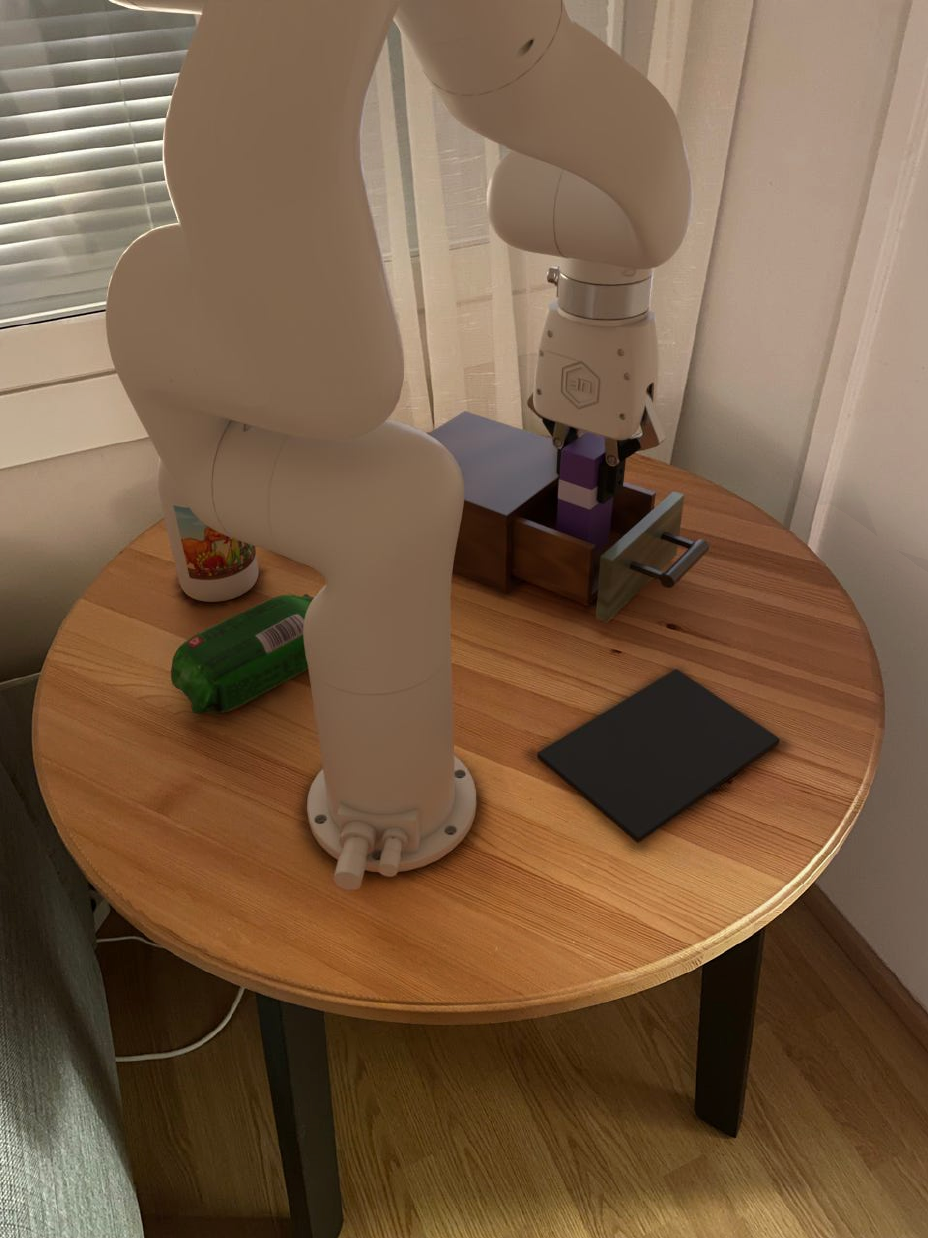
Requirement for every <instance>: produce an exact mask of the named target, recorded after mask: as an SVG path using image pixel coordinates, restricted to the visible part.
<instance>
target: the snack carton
mask: <svg viewBox="0 0 928 1238" xmlns="http://www.w3.org/2000/svg"><path fill="white" fill-rule="evenodd" d="M603 461H605V438H604V437H601V436H598V435H595V434H591V433H588V432H587V433H585V434H584V435H582V436H581V437H579V438H578V439H576V440H575V441H573V442H572V443H570V444H569V445H567V446H566V447H564V448H563V449H562V451H561V465H560V479H559V489H558V508H557V523H556V531H559V532H561V533H564V534H567V535H569V536H572V537H575V538H577V539H580V540H583V541H585V542H588V543H591V544H593V545H595V552H596V551H597V550H599V549H600V548H601V547H602V546H604V545H605V544H606V543H607V542H608V541H609V533H610V524H611V514H612V505H613V497H612V498H611V499H609V500H608V501H607V502H606V503H605V504H601V503H599V502H598V501H597V489H598V474H599V466H600V464H601V463H602V462H603Z"/></svg>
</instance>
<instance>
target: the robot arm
mask: <svg viewBox="0 0 928 1238" xmlns="http://www.w3.org/2000/svg"><path fill="white" fill-rule="evenodd" d="M108 1H109V2H111V3H113V4H116V5H118V6H122V7H125V8H128V9H130V10H131V9H132V10H138V11H146V12H147V11H148V12H157V13H162V12H163V13H173V14H187V15H188V14H189V15H200V17H199V20H198V23H197V26H196V28H195V30H194V33H193V36H192V39H191V42H190V44H189V46H188V49H187V52H186V55H185V57H184V59H183V63H182V65H181V68H180V71H179V73H178V76H177V79H176V82H175V84H174V88H173V90H172V94H171V98H170V101H169V103H168V109H167V112H166V115H165V122H164V128H163V136H162V166H163V174H164V179H165V184H166V189H167V191H168V196H169V199H170V201H171V205H172V209H173V211H174V214H175V217H176V219H177V222H176V223H169V224H164V225H161V226H158V227H155V228H152V229H150V230H148V231H146V232H144V233H143V234H141V235H139V236H138V237H137V238H136V239H134V240H133V241H132V242H131V244H130V245H129V246H128V247H127V248H126V249H125V250H124V251H123V253H122V254H121V255H120V257H119V259H118V261H117V262H116V264H115V267H114V269H113V271H112V273H111V277H110V280H109V284H108V289H107V294H106V300H105V330H106V338H107V345H108V349H109V353H110V357H111V360H112V364H113V366H114V369H115V372H116V375H117V376H118V379H119V381H120V383H121V385H122V387H123V389H124V392H125V394H126V395H127V398H128V399H129V401H130V403H131V405H132V407H133V408H134V411H135V413H136V414H137V417H138V418H139V421H140V422H141V424H142V426H143V428H144V430H145V432H146V434H147V436H148V438H149V439H150V441H151V443H152V445H153V447H154V449H155V451H156V453H157V455H158V456H159V459H160V458H161V460H162V462H163V464H164V466H165V468H166V470H167V472H168V473H169V475H170V477H171V479H172V481H173V483H174V485H175V486H176V488H177V490H178V492H179V493H180V495H181V497H182V498H183V500H184V501H185V503H186V504H187V506H188V507H189V508H190V509H191V511H192V512H193V513H194V514H195V515H196V516H197V517H198V518H199V519H200V520H201V521H202V522H203V523H204V524H206V525H207V526H209V527H210V528H212V529H213V530H215V531H217V532H219V533H221V534H224V535H226V536H229V537H231V538H234V539H236V540H239V541H242V542H245V543H247V544H250V545H253V546H255V548H260V549H262V550H266V551H269V552H272V553H274V554H277V555H280V556H282V557H283V556H284V557H286V558H287V559H289V560H291V561H294V562H297V563H300V564H302V565H306V566H308V567H310V568H312V569H314V570H316V571H318V573H320V574H321V575H322V576H323V578H324V579H325V582H326V583H325V585H324V586H323V587H322V588H321V589H320V590H319V591H318V592H317V593H316V594H315V596H314V597H313V598H314V599H313V600H312V602H311V603H310V605H309V607H308V609H307V612H306V615H305V619H304V626H303V637H304V647H305V654H306V660H307V663H308V669H307V670H308V674H309V675H308V676H309V682H310V689H311V695H312V703H313V711H314V716H315V725H316V730H317V737H318V738H317V739H318V745H319V750H320V758H321V765H322V768H321V769H320V771H318V773H317V775H316V776H315V778H314V779H313V781H312V783H311V785H310V787H309V790H308V794H307V800H306V801H307V803H306V812H307V818H308V824H309V826H310V829H311V833H312V835H313V836H314V839H315V840H316V842H317V843H318V845H319V846H320V847H321V848H322V849H323V850H324V851H325V852H326V853H327V854H328V855H329V856H331V857H332V858H334V859H336V860H337V863H336V867H335V871H334V873H333V883H334V884H335V885H336V886H337V887H338V888H340V889H342V890H344V891H350V892H351V891H356V890H358V889H360V888H361V887H362V883H363V879H364V874H365V871H367V872H371V873H379V874H380V875H382V876H383V877H387V878H391V877H395V876H397V875H398V873H399V872H400V873H401V872H409V871H411V870H415V869H419V868H423V867H426V866H427V865H430V864H432V863H434V862H437V861H439V860H440V859H442V858H443V857H445V856H446V855H448V854H449V853H451V852H452V851H453V850H455V848H456V847H457V846H459V844H461V843H462V842H463V840H464V839H465V837H466V836H467V834H468V833H469V832H470V830H471V827H472V826H473V823H474V821H475V818H476V812H477V789H476V785H475V781H474V778H473V776H472V775H471V772H470V770H469V769H468V768H467V766H466V765H465V764H464V763H463V761H462V760H461V759H460V758H459V757H457V756H456V755H455V735H454V734H455V733H454V731H455V729H454V703H453V702H454V701H453V698H454V697H453V696H454V695H453V664H452V663H453V662H452V634H451V633H452V632H451V631H452V629H451V597H452V596H451V595H452V594H451V593H452V578H453V571H452V570H453V562H454V556H455V550H456V544H457V539H458V534H459V529H460V524H461V518H462V512H463V505H464V481H463V476H462V473H461V469H460V467H459V465H458V463H457V461H456V460H455V458H454V456H453V455H452V454H451V453H450V451H449V450H448V449H447V448H446V447H445V446H444V445H442V444H441V443H440V442H439V441H437V440H436V439H435V438H433V437H432V436H430V435H428V434H429V433H428V432H427V433H426V432H425V431H423V430H421V429H418V428H416V427H413V426H412V425H410V424H406V423H404V422H400V421H398V420H395V419H392V418H391V419H390V417H391V416H392V414H393V412H394V411H395V410H396V408H397V405H398V403H399V401H400V398H401V394H402V389H403V385H404V381H405V355H404V346H403V340H402V334H401V330H400V329H401V328H400V325H399V321H398V315H397V312H396V311H397V310H396V307H395V303H394V299H393V295H392V290H391V286H390V282H389V278H388V273H387V269H386V264H385V261H384V257H383V251H382V248H381V244H380V239H379V235H378V230H377V226H376V223H375V217H374V214H373V210H372V206H371V201H370V196H369V191H368V185H367V184H368V183H367V180H366V179H367V178H366V175H365V167H364V163H363V146H362V145H363V141H362V139H363V138H362V137H363V135H362V132H363V124H364V116H365V110H366V103H367V100H368V96H369V92H370V88H371V85H372V81H373V78H374V74H375V71H376V68H377V65H378V62H379V60H380V57H381V54H382V50H383V48H384V46H385V42H386V39H387V37H388V34H389V32H390V28H391V26H392V23H393V22H394V24H395V25H396V26H397V28H398V30H399V32H400V34H401V35H402V37H403V39H404V40H405V42H406V43H407V45H408V47H409V49H410V50H411V52H412V54H413V56H414V57H415V59H416V60H417V62H418V64H419V65H420V67H421V69H422V72H423V73H424V75H425V77H426V78H427V80H428V82H429V83H430V85H431V86H432V88H433V90H434V91H435V94H436V95H437V97H438V99H439V100H440V102H441V104H442V106H443V107H444V108H445V110H446V111H447V112H448V113H449V114H450V115H451V116H452V117H453V119H455V121H457V122H458V123H460V124H461V125H462V126H464V127H466V128H468V129H469V130H471V131H473V132H474V133H475V134H478V135H480V136H482V137H484V138H486V139H487V140H490V141H491V142H494V143H495V144H498V145H500V146H502V147H504V148H507V149H509V151H508V152H506V153H505V155H504V156H503V157H502V158H501V159H500V160H499V162H498V163H497V164H496V166H495V168H494V169H493V172H492V173H491V176H490V178H489V181H488V185H487V189H486V197H485V198H486V199H485V201H486V203H485V204H486V207H485V209H486V214H487V218H488V222H489V224H490V226H491V228H492V230H493V231H494V234H496V235H497V237H498V238H499V239H501V240H502V241H503V242H504V243H505V244H507V245H509V246H510V247H513V248H515V249H518V250H521V251H523V252H529V253H533V254H540V255H545V256H551V257H558V258H559V265H558V266H557V267H556V266H551V267H549V268H548V271H547V273H546V281H547V283H549V284H553V285H554V286H555V287H556V298H557V299H554V300H553V301H550V303H548V306H547V309H546V313H545V316H544V321H543V324H542V328H541V333H540V337H539V343H538V347H537V348H538V349H537V355H536V362H535V371H534V378H533V379H534V380H533V392H532V393H531V394H530V396H529V397H528V399H527V401H526V405H527V407H528V409H529V410H531V411H532V412H533V413H534V414H535V415H536V416H537V417H538V418H539V419H541V421H542V424H543V425H544V427H545V428H546V430H547V431H548V433H549V435H550V436H551V437H552V438H551V439H552V444H553V446H554V447H555V448H557V449H558V450H557V467H556V473H557V475H558V485H557V487H558V489H559V479H560V465H561V451H562V449H563V448H564V447H566V446H567V445H569V444H570V443H572V442H573V441H575V440H576V439H578V438H579V437H578V436H579V432H580V430H583V431H586V432H589V433H592V434H596V435H599V436H602V437H604V438H605V461H603V462H602V463H601V464H600V466H599V474H598V489H597V501H598V502H599V503H601V504H605V503H606V502H607V501H608V500H609V499H611V498H612V497H613V496H614V495H616V494H618V493H619V492H620V491H621V490H622V487H623V483H624V482H625V473H626V463H627V459H628V458H629V457H631V456H633V455H634V454H636V453H637V452H640V451H646V450H649V449H653V448H656V447H658V446H660V445H661V444H662V443H664V442H665V441H666V439H667V436H666V433H665V430H664V428H663V425H662V422H661V420H660V417H659V415H658V412H657V410H656V407H657V398H658V388H659V387H658V386H659V357H660V356H659V355H660V354H659V336H658V334H659V333H658V325H657V318H656V317H657V316H656V313H655V312H654V311H652V310H650V306H651V297H652V296H651V295H652V288H653V278H654V269H655V268H658V267H661V266H663V265H664V264H666V263H667V262H669V261H670V260H671V259H673V257H674V256H675V255H676V254H677V253H678V252H679V250H680V248H681V247H682V245H683V244H684V242H685V240H686V237H687V235H688V233H689V229H690V226H691V222H692V217H693V208H694V185H693V177H692V171H691V165H690V161H689V156H688V152H687V148H686V144H685V141H684V136H683V133H682V130H681V126H680V123H679V120H678V117H677V115H676V113H675V110H674V109H673V107H672V106H671V103H669V100H668V99H666V97H665V96H664V95H663V94H662V92H661V91H660V90H659V88H657V87H656V86H655V85H654V84H653V83H652V82H651V81H650V79H648V78H647V77H646V76H645V75H644V74H642V73H641V72H640V71H639V70H638V69H637V68H635V67H634V66H633V65H632V64H630V63H629V62H628V61H627V60H626V59H624V57H622V56H621V55H620V54H619V53H618V52H616V51H615V50H614V49H613V48H612V47H611V46H609V45H608V44H607V43H605V42H604V41H603V40H602V39H601V38H599V37H598V36H597V35H595V34H594V33H593V32H591V31H590V30H589V29H587V28H586V27H584V26H583V25H582V24H580V23H578V21H576V20H575V19H574V18H572V17H571V16H570V14H569V12H568V8H567V6H566V3H565V0H108ZM639 428H640V429H641V432H642V433H637V432H638V430H639ZM636 433H637V434H636Z"/></svg>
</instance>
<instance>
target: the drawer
mask: <svg viewBox="0 0 928 1238" xmlns="http://www.w3.org/2000/svg"><path fill="white" fill-rule="evenodd" d="M656 495H657V492H656V491H653V490H650V489H647V488H643V487H642V486H639V485H635V484H632V483H629V482H627V481H624V483H623V487H622V490H621V491H620V492H619V493H618V494H616V495H614V496H613V505H612V514H611V524H610V533H609V541H608V542H607V543H606V544H605V545H604V546H602V547H601V548H600V549H599V550H597V551H596V552H595V545H593V544H591V543H588V542H585V541H583V540H580V539H577V538H575V537H572V536H569V535H567V534H564V533H561V532H559V531H556V523H557V508H558V487H557V486H555V487H554V488H553V489H551V490H550V491H549V492H548V493H546V494H545V495H544V496H542V497H541V498H540V499H538V500H537V501H536V502H535V503H533V504H532V505H531V506H529V507H528V508H527V509H525V510H524V511H523V512H522V513H520V514H519V515H518V516H516V517H515V518H514V519H512V550H511V575H514V576H516V577H518V578H521V579H523V580H524V581H526V582H527V583H531V584H534V585H536V586H538V587H541V588H542V589H545V590H548V591H551V592H552V593H555V594H557V595H560V596H562V597H564V598H567V599H569V600H572V601H574V602H576V603H579V604H581V605H585V606H588V605H590V604H591V602H593V600H595V599H596V609H595V619H596V620H599V621H601V622H603V623H606V624H608V622H610V620H611V619H612V618H613V617H615V616H616V615H617V613H618V612H620V611H621V610H622V608H624V607H625V606H626V605H627V604H628V603H629V602H631V600H632V599H633V598H634V597H635V596H636V595H637V594H638V593H639V592H640V591H641V590H642V589H643V588H644V587H645V586H647V584H648V583H649V582H650V581H651V580H652V579H655V580H657V581H659V582H660V585H661V586H663V587H664V588H666V589H672V588H673V587H674V586H675V585H676V584H678V583H679V582H680V580H681V579H683V577H684V576H686V574H687V573H688V572H689V571H690V570H691V569H692V568H693V567H694V566H695V565H696V564H697V563H698V562H699V561H700V560H701V559H702V558H703V557H704V556H705V555H706V554H707V553H708V552H709V549H710V545H709V542H707V541H706V540H705V539H703V538H702V539H701V538H700V539H697V540H696V541H694V540H692V539H689V538H685V537H683V536H680V532H681V524H682V518H683V517H682V516H683V509H684V501H685V494H684V493H681V492H677V491H672V492H670V494H668V496H666V497H665V498H664V499H663V500H662V501H661V502H659V503H658V505H656V497H657V496H656ZM655 505H656V506H655ZM678 547H683V548H685V549H687V550H686V551H685V552H684V553H683V554H681V556H679V558H678V559H676V561H675V562H673V564H671V565H670V567H668V568H667V569H666V571H663V570H662V569H663V568H665V567H666V565H667V564H668V563H669V562H670V561H671V560H672V559H673V558H674V557H675V556H676V555H677V552H678ZM523 580H522V581H523Z"/></svg>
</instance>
